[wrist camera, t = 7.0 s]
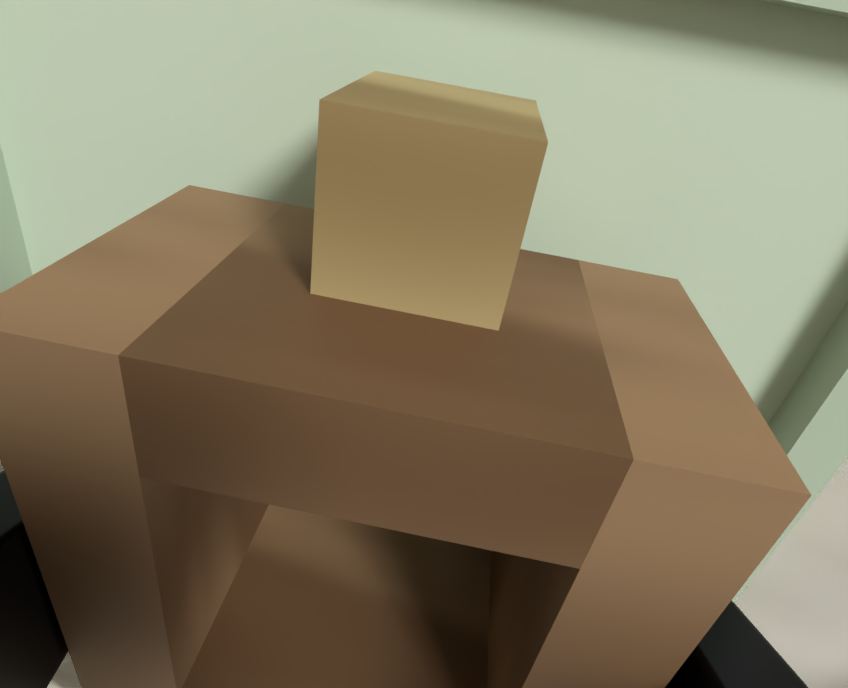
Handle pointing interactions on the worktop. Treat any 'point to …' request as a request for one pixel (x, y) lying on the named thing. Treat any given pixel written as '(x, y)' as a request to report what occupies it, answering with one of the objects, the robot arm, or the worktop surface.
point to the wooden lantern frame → (380, 430)
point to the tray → (499, 73)
